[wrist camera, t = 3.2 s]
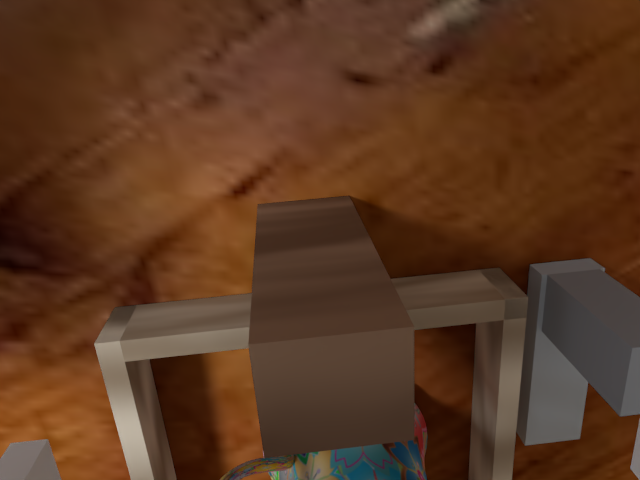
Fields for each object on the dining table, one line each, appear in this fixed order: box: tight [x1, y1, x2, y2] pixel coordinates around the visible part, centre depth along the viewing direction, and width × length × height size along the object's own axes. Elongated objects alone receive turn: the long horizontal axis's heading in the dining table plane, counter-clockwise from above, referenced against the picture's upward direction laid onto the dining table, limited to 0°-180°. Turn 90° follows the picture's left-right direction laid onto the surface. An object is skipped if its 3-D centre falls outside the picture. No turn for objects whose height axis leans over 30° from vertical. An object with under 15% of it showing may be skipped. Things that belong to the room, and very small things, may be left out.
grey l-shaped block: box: [516, 258, 640, 446], centre depth 23 cm, size 10×3×7 cm, turn 4°
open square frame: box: [94, 196, 528, 480], centre depth 21 cm, size 20×18×11 cm
